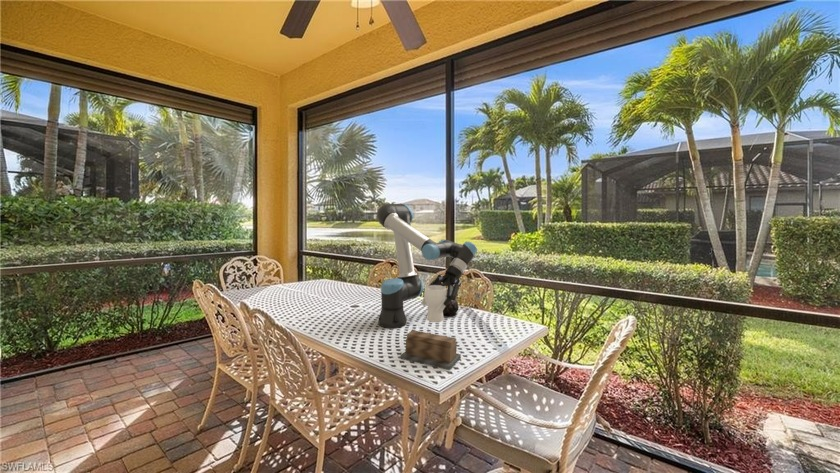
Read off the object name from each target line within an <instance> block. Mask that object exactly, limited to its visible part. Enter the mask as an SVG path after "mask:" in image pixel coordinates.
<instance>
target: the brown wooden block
mask: <svg viewBox="0 0 840 473" xmlns="http://www.w3.org/2000/svg"><path fill="white" fill-rule="evenodd" d="M461 358H462V355H461V353H458V352H457V338H456V337H451V336H447V335H446V336H445V335H440V334H435V333H431V332H425V331H424V332H423V331H419V330H413V329H412V330H410V331H409V332H408V333H407V334H406V338H405V351H404V352H403V353H401V355H400V360H401V359H402V360H406V361H409V362H415V363H419V364H422V365H423V364H424V365H426V366H427V365H428V366H432V367H436V368H441V369H445V370H448V371H449V370H451V369H452V368H454V366H455V365H456V364H457V363H458V362H459V360H460V359H461Z"/></svg>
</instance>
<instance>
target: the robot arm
mask: <svg viewBox="0 0 840 473" xmlns="http://www.w3.org/2000/svg"><path fill="white" fill-rule="evenodd" d="M376 219H377V221H378V223H379V224H380V225H381V226H382V227H384V228H385V229H387V230H391V231H392V232H393V238H394V245H395V251H396V258H397V265H398V271H399V274H398V275H397V277H396V278H395V277H394V278H388V279H386V280H383V282H382V283H381V289H380V293H381V294H380V296H381V297H380V298H381V300H380V301H381V311H380V312H379V317H378V320H377V321H378V322H377V323H378V326H380V327H381V328H386V329H396V328H401V327H405V326H406V325H407V324H408V323H407V316H406V313H405V310H404V302H407V301H408V300H413V299H416V298H418V297H419V296H421V295H422V293H423V291H424V289H425V288H424V287H425V286H424V282H423V280H422V278H421V277H419V274H418V273H417V272H416V271H415V265H414V258H413V251H412V246H413V247H415V248H416V249H418V250H419V251H420V252H421V255H422V257H423V258H424V259H425V260H427V261H428V260H429V261H430V260H431V261H433V260H439V259H443V258H447V257H449V258H453V259H452V261H451V262H450V263H449V266H447V268H446V269H445V272H444V273H445V274H444V275H441V274H438V275H437V276H436V277H435V279H434V280H433V281H432V282H431V283H430V284H429V285H428V286H430V285H441V286H445V287H447V296H446V297H447V298H446V297H445V298H444V299H443V301H442V302H441V304H440V306H439V307H438V310H439V311H440V312H441V313H442V311H443V310H444V308H445V307H446V306H447V305H448V303H449V302H450V301H451V300H457V299H456V298H457V297H458V296H457V295H458V292H459V289H460V287H461V285H462V284H463V283H462V282H461V280H460V279H461V277H462V276H463V274H464V272H465V271H466V270H467V268H468V266H469V264H470V263H471V262H472V260H473V259H474V258H475V256H476V254H477V252H478V247H477V246H476V244H474V243H473V242H472V241H465V242H464V243H463V244H462V243H461V244H460V243H457V242H454V241H451V240H449V239H443V238H442V239H440V240H439V241H438V242H435V241H434V240H433V239H431V238H429V237H428V236H426V235H425V234H424V233H422V232H421V231H419V230H418V229H416V228H415V227H414V226H412V225H411V223H412V221H413V219H414V211H413V209H412V208H411V206H409V205H408V204H407V203H406V204H405V203H384V204H382V205H381V206H379V207H378V209H377V212H376ZM420 304H422V306H423V307H427V304H426V302H425V298H424V297H423V299H422V301H421V302H420Z"/></svg>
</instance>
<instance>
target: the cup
mask: <svg viewBox="0 0 840 473" xmlns="http://www.w3.org/2000/svg"><path fill="white" fill-rule="evenodd" d="M429 285H430V284H429ZM429 285H427V286H425V288H424V294H423V296H424V297H423V299H424V298H425V302H426V307H427V315H426V320H427V321H428V322H432V323H441V322H444V316H443V311H442V313H441V312H440V311H439V310H438V307H439V306H440V304H441V302H442V301H443V299H444V298H445V297H446V296H447V291H448V288H447V286H441V285H430V286H429ZM446 298H447V297H446Z"/></svg>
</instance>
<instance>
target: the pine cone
mask: <svg viewBox="0 0 840 473" xmlns="http://www.w3.org/2000/svg"><path fill="white" fill-rule="evenodd" d="M459 308H460V306H459V303H458V301H457V299H455V300H451V301H450V302H449V303H448V305H447V306H446V307H445V308H444V310H443V317H454V316H457V314H458V313H457V312H458V310H459Z"/></svg>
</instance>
